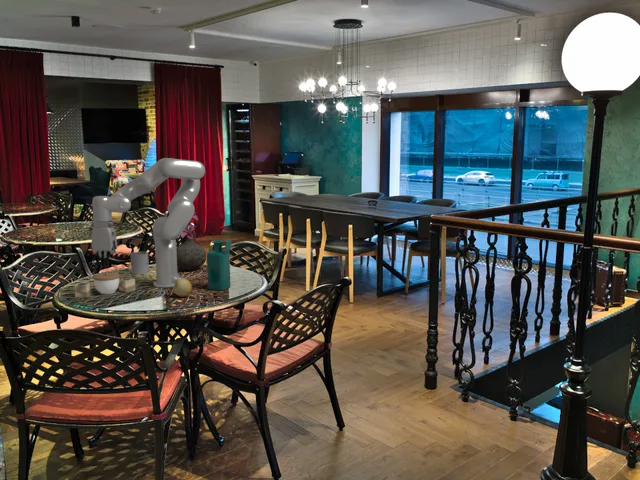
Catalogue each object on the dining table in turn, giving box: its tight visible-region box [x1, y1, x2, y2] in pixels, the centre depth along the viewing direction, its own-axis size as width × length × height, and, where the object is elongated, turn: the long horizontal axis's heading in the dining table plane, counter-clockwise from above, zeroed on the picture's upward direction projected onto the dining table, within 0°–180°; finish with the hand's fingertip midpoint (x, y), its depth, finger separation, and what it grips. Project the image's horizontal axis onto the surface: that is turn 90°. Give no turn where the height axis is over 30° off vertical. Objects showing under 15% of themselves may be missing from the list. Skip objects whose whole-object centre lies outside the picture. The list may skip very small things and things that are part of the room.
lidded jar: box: [93, 271, 120, 295], centre depth 256 cm, size 11×11×9 cm
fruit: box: [172, 278, 193, 298], centre depth 249 cm, size 8×8×8 cm
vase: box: [176, 211, 207, 272], centre depth 302 cm, size 17×17×30 cm
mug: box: [130, 251, 150, 275], centre depth 299 cm, size 12×9×10 cm
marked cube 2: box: [118, 277, 136, 293], centre depth 261 cm, size 5×5×5 cm
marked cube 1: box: [74, 282, 93, 298], centre depth 252 cm, size 5×5×5 cm
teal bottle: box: [206, 239, 232, 292], centre depth 262 cm, size 10×8×22 cm
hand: (105, 266), depth 255 cm, fingers closed
